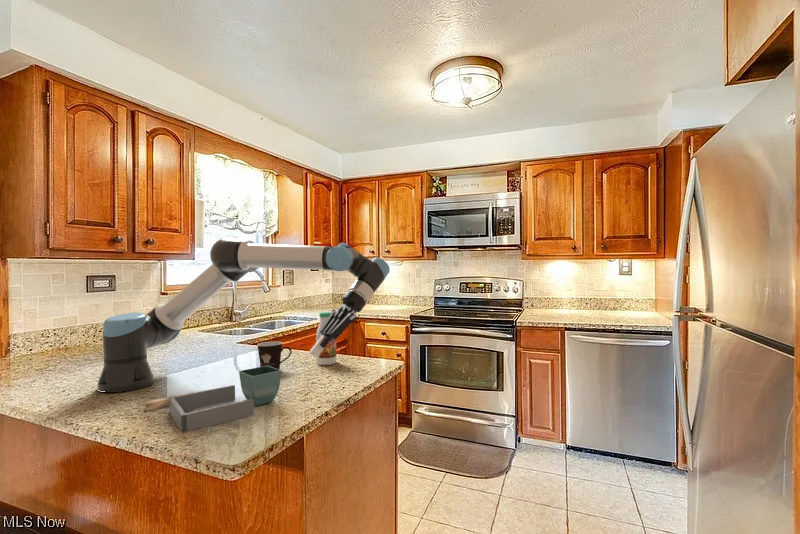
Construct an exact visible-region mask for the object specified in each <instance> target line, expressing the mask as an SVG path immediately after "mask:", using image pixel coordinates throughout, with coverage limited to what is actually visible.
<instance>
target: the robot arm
mask: <svg viewBox="0 0 800 534" xmlns="http://www.w3.org/2000/svg"><path fill="white" fill-rule="evenodd" d="M209 258H210V260H211V262H212V264H210V266H209V267H207V269H205V270H203V272H202V273H200V274H199V275H198V276H197V277H196V278H194V279H193V280H192V281H191V282H190V283H188V284H187V286H185V287H184V288H183V289H182V290H180V291H179V292H178V293H177V294H176V295H174V296H173V297H172V298H171V299H170V300H169V301H167V303H160V304H157V305H156V306H155V307H154V308H152V309H151V310H150V311H149V312H148V313H144V312H127V313H121V314H116V315H113V316H110V317H109V318H106V319H105V320H104V322H103V325H102V326H103V327H102V328H103V329H102V340H103V341H102V344H103V368H102V370H101V373H100V376H99V380H98V382H97V391H98V390H100V391H105V392H118V393H121V392H120V391H126V392H130V391H129V390H131V391H134V390H135V389H136V390H139V388H140V389H143V388H146V387H149V386H151V385H153V384H154V381H155V380H154V379H155V378H154V373H153V371H152V368H151V366H150V364H149V361H148V351H147V350H148V349H150V348H154V347H158V346H161V345H165V344H169V343H170V342H172V341H174V340H175V339H176V338H177V337H178V336H179V335H180V333H181V330H182V329H183V328H184V326H185V321H186V320H187V319H188V318H189V317H191V316H192V315H193V314H194V313H195V312H196V311H197V310H199V309H200V308H201V307H202V306H203V305H205V304H206V303H207V302H208V301H209V300H210V299H211V298H213V297H214V296H215V295H216V294H218V293H219V292H220V291H221V290H223V289H224V288H225V287H226V286H227V285H228V284H229V283H231V282H235V283H236V282H239V280H241V279H242V278H243V277H245V275H247V274H248V273H253V272H254V271H257V270H258V269H259V268H261V269H263V268H264V269H265V268H267V269H289V270H290V269H292V270H315V271H318V270H320V271H336V272H344V271H347V272H349V273H350V274H351V275H353V276H355V277H356V280H355V281H354V282H353V284H352V285H351V286H350V287H349V289H348V290H347V291H346V293H344V295H343V296H342V297H341V301H342V304H340V306H339V307H338V308H337V309H336V310H335V308H334V309H332V310H331V311H330V312H331V314H330V316H329V318H328V319H327V321H326V323H325V324H324V326H323V327H322V329H321V331H320V333H321V335H322V336H321V337H320V338H319V339H318V341H317V342H315V343H314V344H313V346H312V347H311V348H310V349H309V353H310V354H311V355H312V357H314V358H316V359H317V357H318V356H319V354H320V353H321V352H322V350H323V349H324V348H325V346H326V345H327V344H328V343H329V341H330V340H332V339H336V340H337V339H338V338H339V337H340V335H342V334H343V332H344V331H345V330H346V329H347V328H348V327H350V325H351V324H352V323H353V322H354V321H355V320H357V319H358V316H357V315H356V313H360V312H362V310H363V309H364V308H365V306H366V303H368V302H369V301H370V300H371V299H372V296H374V294H375V292H376V291H377V290H378V289H379V287H381V285H382V284H383V282H384V281H385V280H386V278H387V276H388V275H389V273H390V271H391V268H390V265H389V264H388V263H387V262H386V261H385V260H384V259H382V258H380V257H377V256H376V257H373V259H369V258H368V257H366V256H364V255H363V254H362V253H360V252H359V251H357V250H356V249H355V248H353V247H352V246H351V245H349V244H347V243H346V242H341V243H339V244H338V245H336V246H332V245H331V246H329V245H328V246H325V245H302V244H301V245H299V244H298V245H296V244H273V243H271V244H270V243H269V244H268V243H256V242H255V241H253V240H250V239H248V238H236V237H223V238H220V239H218V240H217V241H215V242H214V244H213V245H212V246H211V249H210V253H209Z"/></svg>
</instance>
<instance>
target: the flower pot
mask: <svg viewBox="0 0 800 534" xmlns="http://www.w3.org/2000/svg"><path fill="white" fill-rule="evenodd" d="M238 371H239V372H238V374H239V380H240V381H239V382H240V387H241V391H242V394H243V396H244V398H245V400H247V399H252V398H253V399H254V407H255V406H257V405H258V406H260V405H264V404H269V403H272V402H274V400H275V399H276V398H277V395H278V393H279V389H280V386H281V385H280V384H281V377H282V370H281V369H280V370H279V369H276V368H273V367H270V366H263V367H261V366H258V367H251V368H248V369H242V370H238Z"/></svg>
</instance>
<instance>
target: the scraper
mask: <svg viewBox="0 0 800 534" xmlns="http://www.w3.org/2000/svg"><path fill="white" fill-rule="evenodd" d="M190 393H195V392H194V391H193V392H187V393H182V394H179V395H178V394H177V395H176V396H180V395H185V394H190ZM174 396H175V395H173V396H171V395H170V396H168V397H163V398H162V397H161V398H158V399H153V400H152V399H150V400H148V401H145V403H144V407H145V410H146V411H150V409H151V410H156V409H160V408H159V407H161V408H165V407H164V406H166V407H169V397H174ZM155 408H156V409H155Z"/></svg>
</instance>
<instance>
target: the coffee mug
mask: <svg viewBox="0 0 800 534" xmlns="http://www.w3.org/2000/svg"><path fill="white" fill-rule="evenodd" d="M282 345H283V342H281V341H265V342H260V343H258V344H257V350H258V351H257V353H258V358H259V365H260V366H259V367H263V366H270V367H273V368H276V369H279V370H281V367H280V366H281V364H282V363H283V362H285V361H286V360H288V359H289V358H290V356H291V355H292V353H293V351H292V349H291V348H290V347H289V346H283V347H282ZM285 349H288V350H289V354H288V356H286V357H285V358H284V359H282V360H281V357H282V352H283V351H284V350H285Z"/></svg>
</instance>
